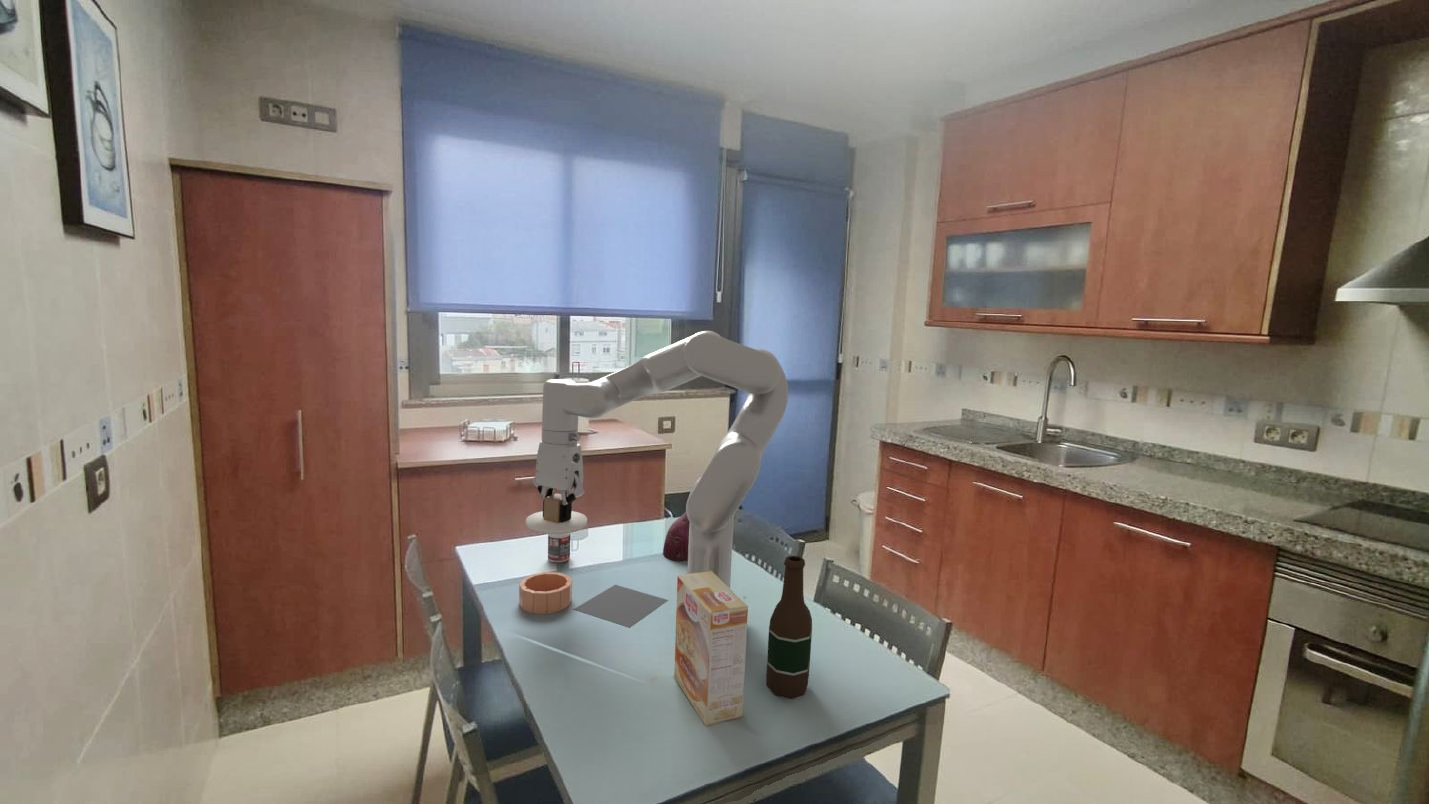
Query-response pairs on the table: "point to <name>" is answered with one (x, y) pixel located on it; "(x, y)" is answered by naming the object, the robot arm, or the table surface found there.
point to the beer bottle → (790, 636)
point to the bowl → (545, 592)
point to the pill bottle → (558, 547)
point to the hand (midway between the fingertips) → (556, 517)
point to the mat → (621, 605)
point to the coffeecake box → (710, 646)
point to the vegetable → (677, 540)
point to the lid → (555, 518)
